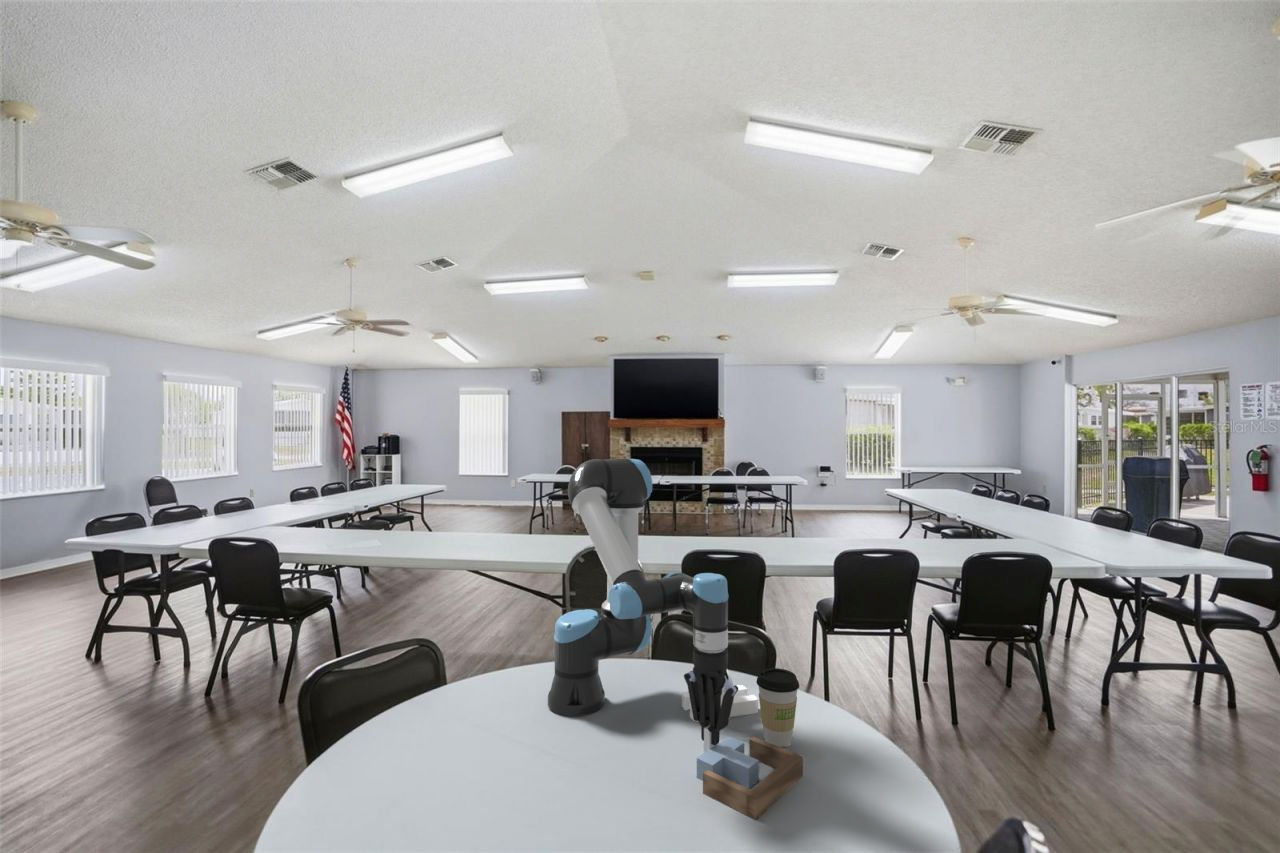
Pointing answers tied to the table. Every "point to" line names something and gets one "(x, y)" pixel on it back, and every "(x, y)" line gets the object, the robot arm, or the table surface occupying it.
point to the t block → (729, 762)
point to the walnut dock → (763, 792)
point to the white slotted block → (740, 704)
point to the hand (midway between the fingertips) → (710, 757)
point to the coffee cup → (777, 704)
